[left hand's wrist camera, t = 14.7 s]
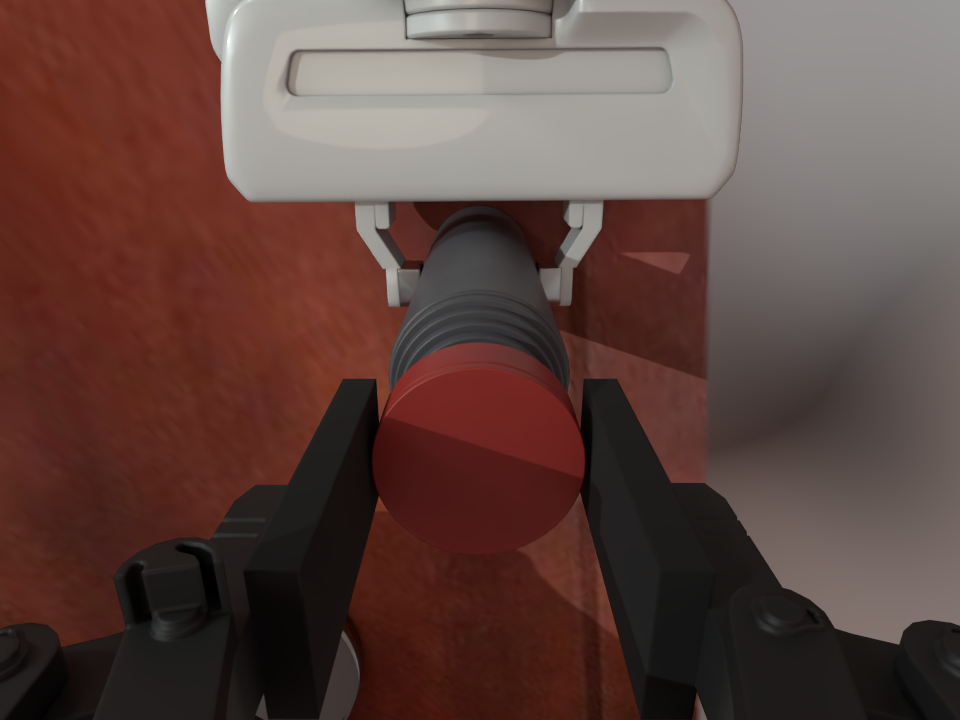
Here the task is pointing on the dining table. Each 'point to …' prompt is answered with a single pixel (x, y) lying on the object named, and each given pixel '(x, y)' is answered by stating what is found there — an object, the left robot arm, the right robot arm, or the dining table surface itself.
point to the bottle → (479, 295)
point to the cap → (478, 450)
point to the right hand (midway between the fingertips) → (480, 303)
